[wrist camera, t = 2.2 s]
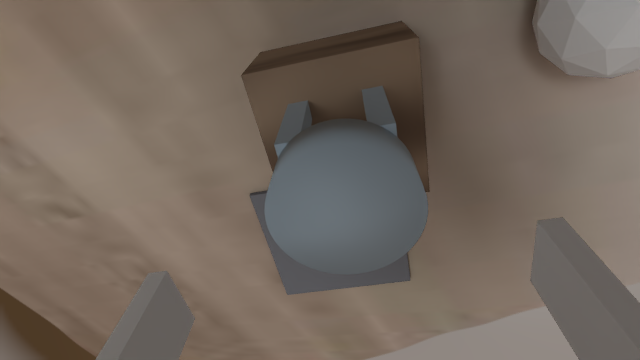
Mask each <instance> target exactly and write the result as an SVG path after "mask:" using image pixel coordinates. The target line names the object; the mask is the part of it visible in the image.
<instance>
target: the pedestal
mask: <svg viewBox="0 0 640 360" xmlns="http://www.w3.org/2000/svg"><path fill="white" fill-rule="evenodd" d="M241 76H242V79H243V82H244V85H245V88H246V91H247V95H248V98H249V101H250V104H251V107H252V110H253V113H254V116H255V119H256V122H257V125H258V128H259V131H260V134H261V137H262V140H263V143H264V146H265V149H266V153H267V156H268V159H269V162H270V165H271V168H272V171H274V168H275V165H276V162H277V160H278V156H277V153H276V150H275V147H274V143H275V140H276V138H277V135H278V132H279V129H280V126H281V123H282V120H283V117H284V114H285V112H286V109H287V106H288V104H292V103H297V102H302V101H307V100H308V104H309V108H310V112H311V116H312V123H311V126H312V125H315V124H317V123H320V122H324V121H328V120H333V119H358V120H364V121H367V119H366V114H365V108H364V102H363V95H362V90H363V89H368V88H373V87H378V86H383V89H384V91H385V94H386V97H387V100H388V102H389V105H390V108H391V111H392V114H393V116H394V119H395V122H396V129H397V137H398V138H399V139H400V140H401V141H402V142H403V143H404V145H405V146H406V147H407V149H408V150H409V152H410V154H411V156H412V158H413V160H414V163H415V166H416V168H417V171H418V173H419V176H420V179H421V181H422V184H423V187H424V190H425V192H429V178H428V163H427V148H426V134H425V119H424V105H423V90H422V76H421V61H420V47H419V37H418V36H417V35H416V34H415V33H414V32H413V31H412V30H411V29H410V28H408V27H407V26H406V25H405V24H404V23H403V22H402V21H400V22H395V23H391V24H386V25H382V26H377V27H373V28H368V29H363V30H359V31H354V32H350V33H345V34H341V35H336V36H332V37H327V38H323V39H318V40H314V41H309V42H305V43H300V44H296V45H291V46H287V47H282V48H278V49H273V50H269V51H264V52H260V53H259V55H258V56H257V57H256V58H255V59H254V61H253V62H252V63H251V64H250V65H249V67H248V68H247V69H246V70H245V71H244V72H243V74H242V75H241Z"/></svg>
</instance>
